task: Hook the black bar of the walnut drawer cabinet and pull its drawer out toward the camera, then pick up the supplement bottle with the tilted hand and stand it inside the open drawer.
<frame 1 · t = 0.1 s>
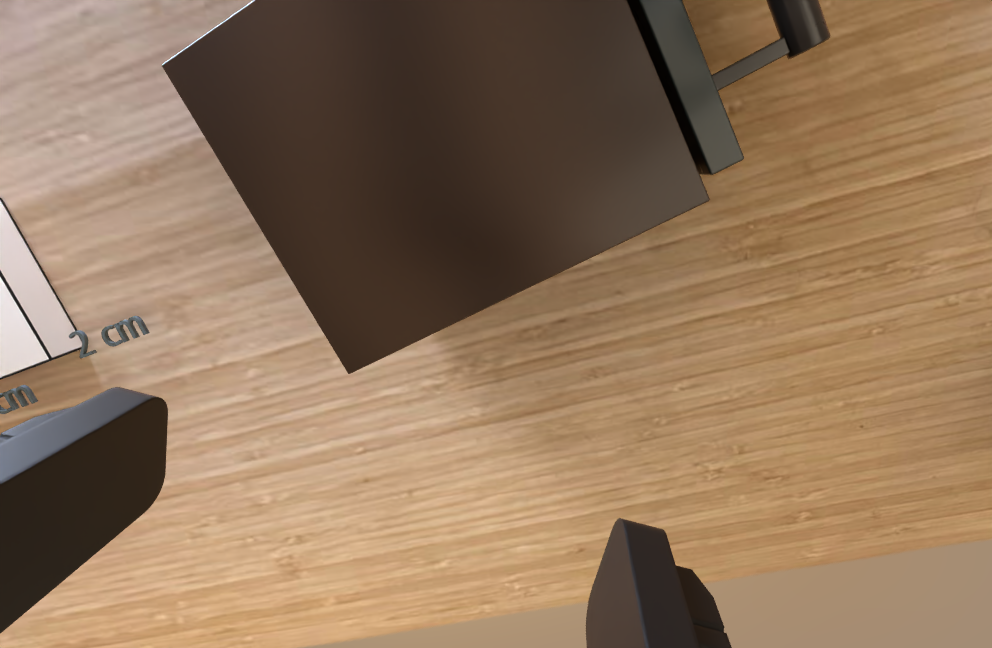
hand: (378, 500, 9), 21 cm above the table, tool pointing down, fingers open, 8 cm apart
cabinet: (472, 142, 27), on the table
drawer: (554, 82, 22), point 5 cm above the table, slide at 0.5 cm
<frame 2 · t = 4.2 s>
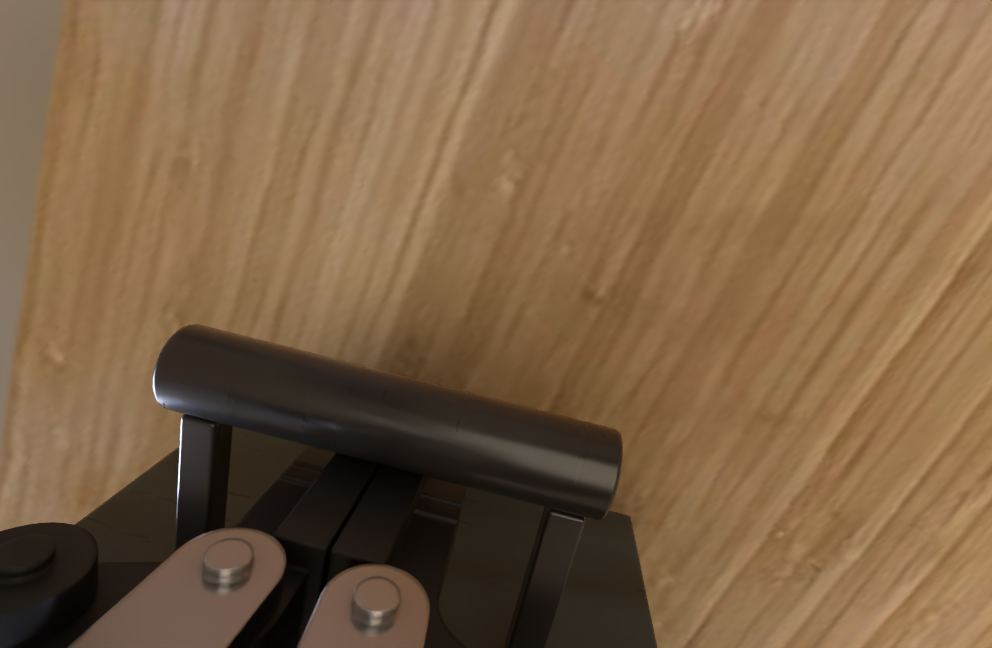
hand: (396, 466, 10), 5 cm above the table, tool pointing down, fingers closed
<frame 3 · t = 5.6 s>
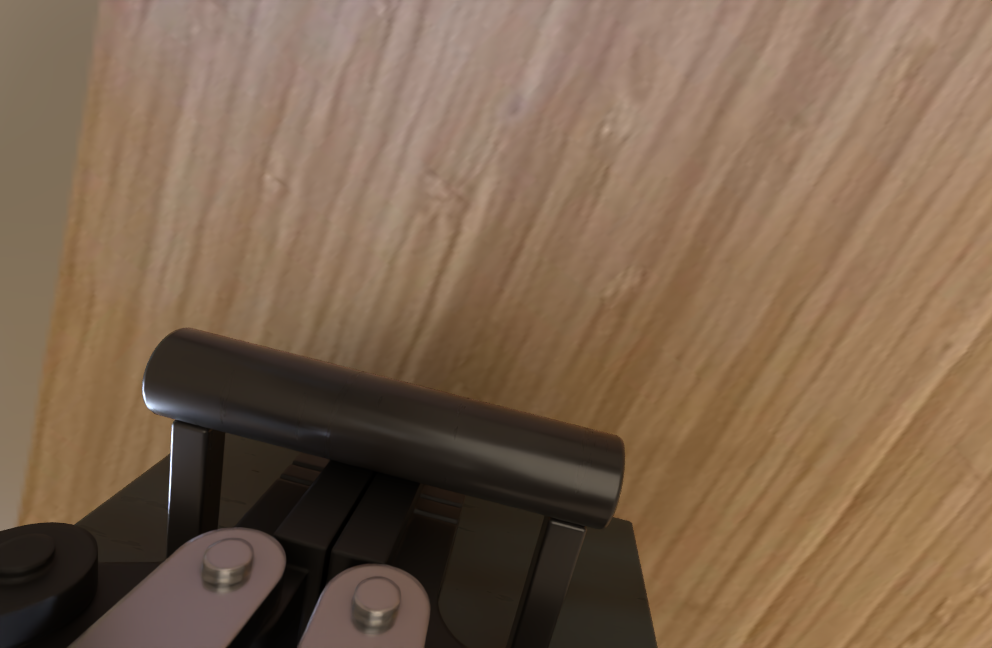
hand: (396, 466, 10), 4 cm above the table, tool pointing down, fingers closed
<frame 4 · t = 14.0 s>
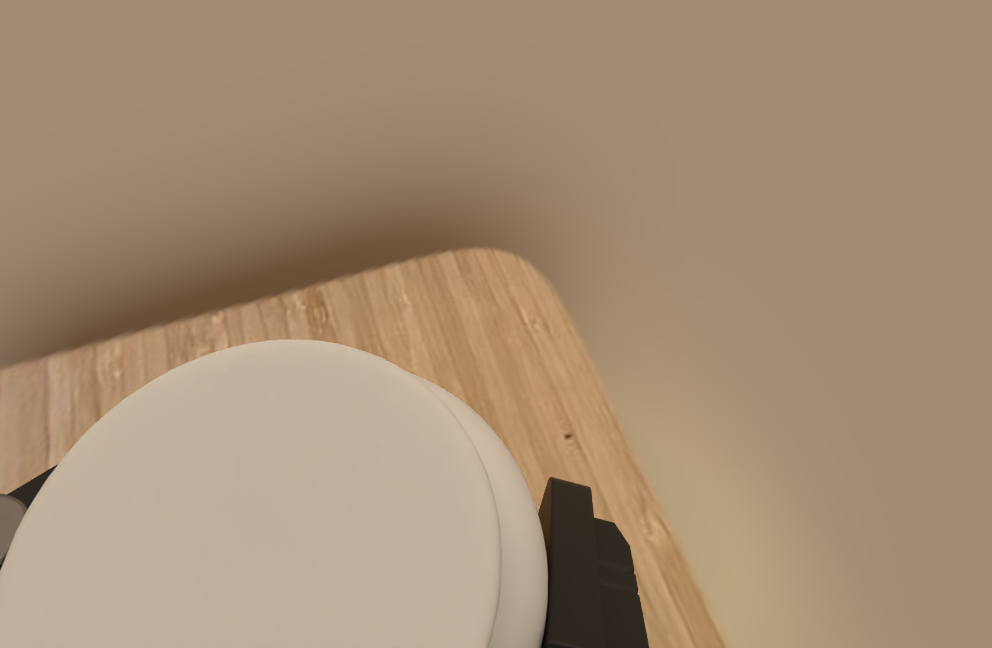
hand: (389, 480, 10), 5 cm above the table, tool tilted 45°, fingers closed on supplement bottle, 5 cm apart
supplement bottle: (385, 592, 14), on the table, touching gripper
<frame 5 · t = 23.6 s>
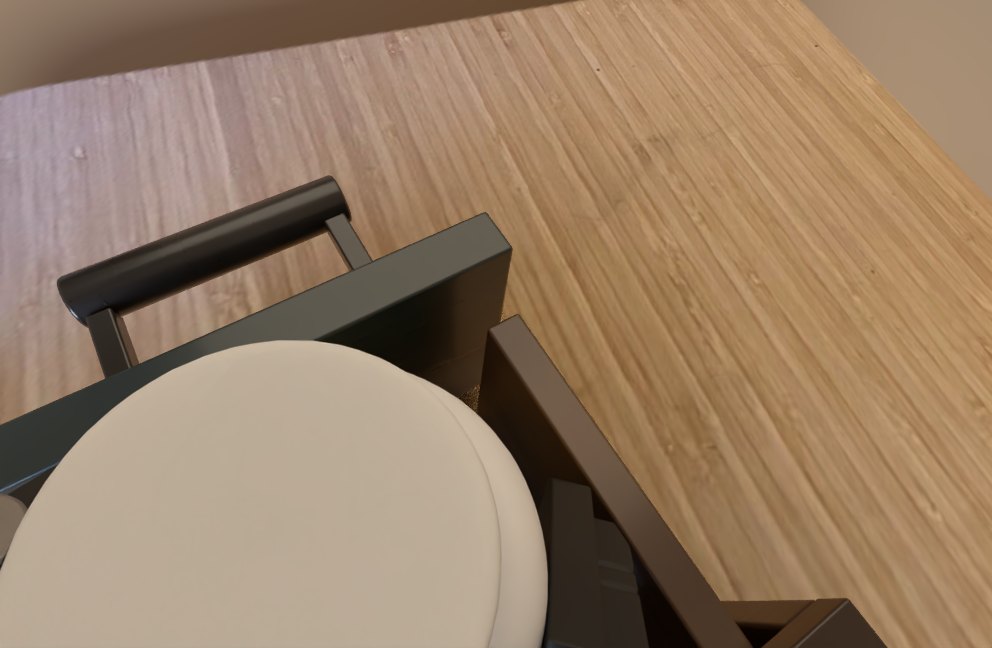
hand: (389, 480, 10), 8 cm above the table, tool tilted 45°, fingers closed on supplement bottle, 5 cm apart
drawer: (364, 544, 13), point 5 cm above the table, slide at 8.4 cm
supplement bottle: (385, 592, 14), point 3 cm above the table, touching gripper
when the fingers open (8 cm above the table, at t = 27.2 s): supplement bottle drops 2 cm, resting on drawer.
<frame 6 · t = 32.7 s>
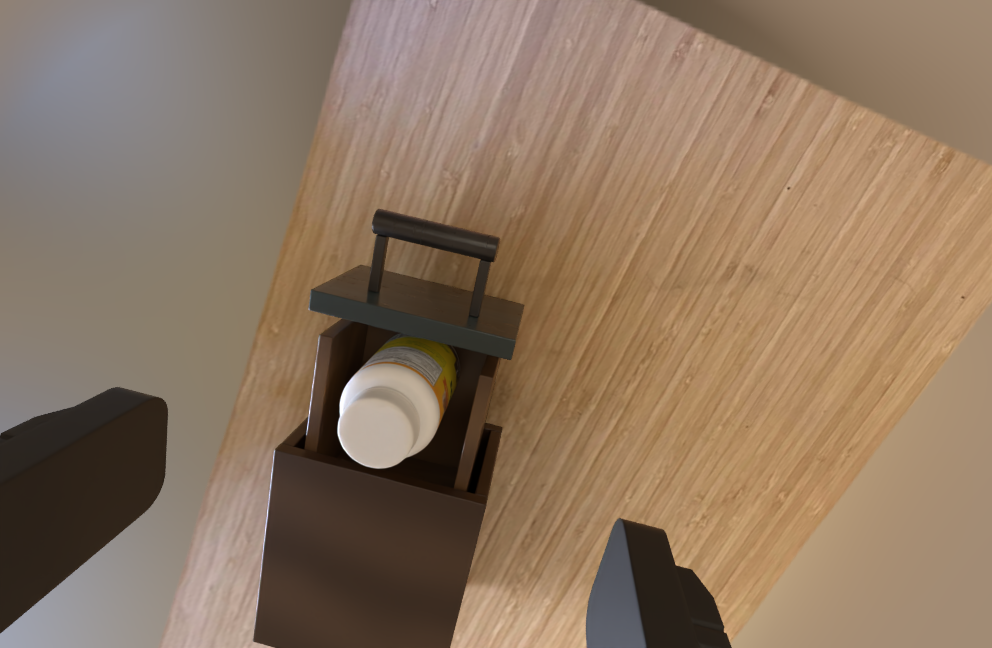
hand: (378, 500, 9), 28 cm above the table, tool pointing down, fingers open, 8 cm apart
cabinet: (403, 489, 42), on the table
drawer: (416, 364, 34), point 5 cm above the table, slide at 8.5 cm, touching supplement bottle
supplement bottle: (422, 363, 37), point 2 cm above the table, touching drawer
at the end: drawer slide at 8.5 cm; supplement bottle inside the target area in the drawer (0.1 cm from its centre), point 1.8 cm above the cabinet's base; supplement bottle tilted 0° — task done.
